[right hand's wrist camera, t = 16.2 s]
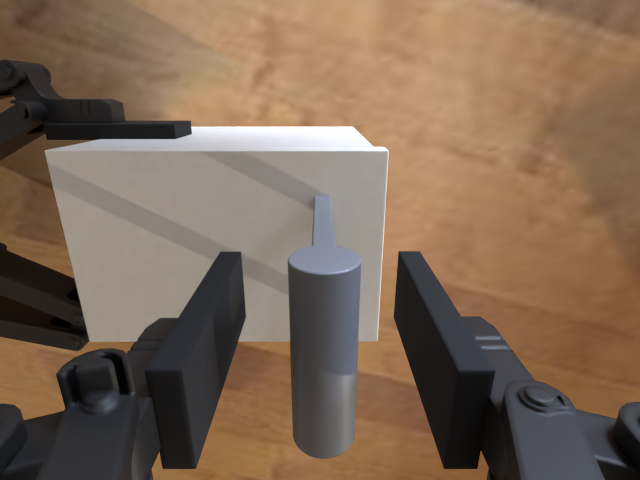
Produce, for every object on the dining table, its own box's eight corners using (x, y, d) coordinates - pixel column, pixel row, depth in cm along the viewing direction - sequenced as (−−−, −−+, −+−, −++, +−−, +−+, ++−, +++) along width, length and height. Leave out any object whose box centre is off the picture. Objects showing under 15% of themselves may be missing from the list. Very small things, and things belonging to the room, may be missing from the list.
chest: (353, 126, 28) (374, 146, 17) (350, 247, 31) (366, 328, 20) (160, 126, 28) (61, 146, 17) (176, 247, 31) (102, 328, 20)
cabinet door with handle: (384, 146, 17) (451, 200, 8) (374, 328, 20) (415, 503, 12) (61, 146, 17) (-204, 200, 8) (101, 328, 20) (-61, 503, 12)
